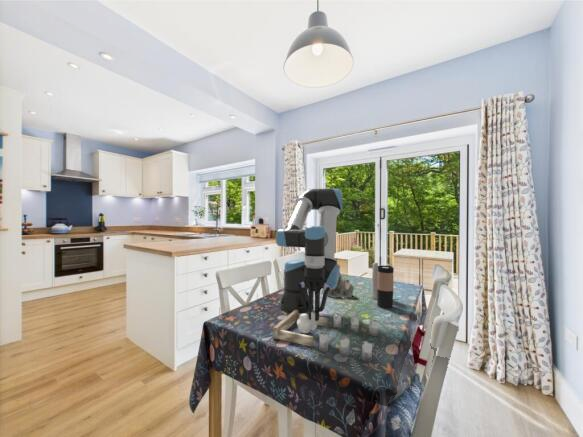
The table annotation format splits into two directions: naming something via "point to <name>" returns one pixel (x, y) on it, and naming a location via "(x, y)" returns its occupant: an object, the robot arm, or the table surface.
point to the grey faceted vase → (304, 323)
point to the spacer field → (345, 340)
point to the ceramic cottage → (341, 289)
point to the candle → (374, 280)
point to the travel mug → (385, 287)
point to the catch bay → (292, 336)
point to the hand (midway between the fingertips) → (313, 328)
